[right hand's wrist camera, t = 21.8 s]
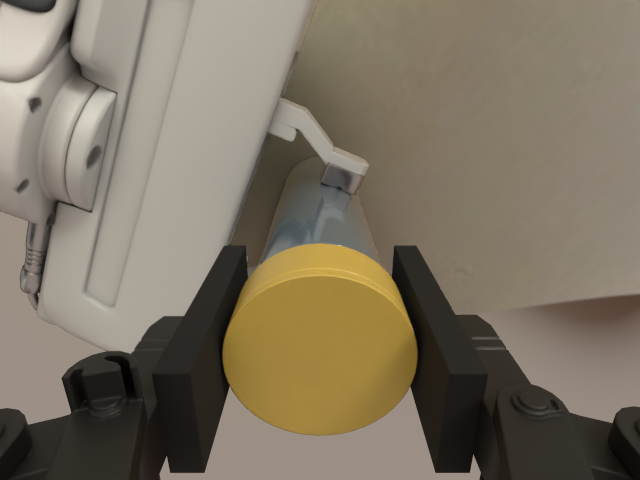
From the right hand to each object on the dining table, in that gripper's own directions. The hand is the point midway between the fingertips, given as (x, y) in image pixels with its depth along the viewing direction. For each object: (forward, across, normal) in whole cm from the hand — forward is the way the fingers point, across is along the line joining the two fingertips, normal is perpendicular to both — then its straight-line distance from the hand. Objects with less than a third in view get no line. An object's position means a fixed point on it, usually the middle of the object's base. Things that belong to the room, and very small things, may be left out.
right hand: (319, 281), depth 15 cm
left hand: (+6, -1, 0) cm, 6 cm away
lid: (-4, 0, 0) cm, 4 cm away
